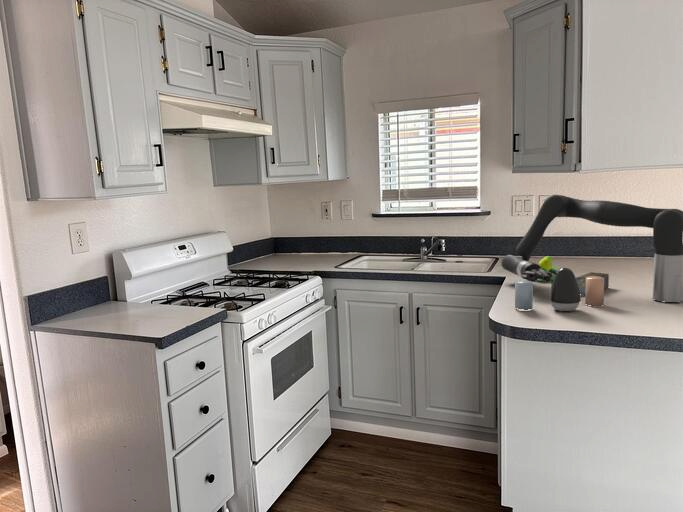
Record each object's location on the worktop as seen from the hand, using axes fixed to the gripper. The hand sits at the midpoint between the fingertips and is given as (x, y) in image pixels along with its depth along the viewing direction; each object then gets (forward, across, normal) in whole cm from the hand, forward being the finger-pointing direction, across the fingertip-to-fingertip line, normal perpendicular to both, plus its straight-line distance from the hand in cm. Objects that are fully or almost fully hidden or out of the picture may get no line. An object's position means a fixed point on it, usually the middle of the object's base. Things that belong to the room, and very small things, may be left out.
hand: (547, 278), depth 197 cm
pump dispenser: (+14, 0, +9) cm, 17 cm away
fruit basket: (-37, +14, +9) cm, 40 cm away
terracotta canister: (+10, +13, +9) cm, 18 cm away
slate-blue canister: (+10, -13, +9) cm, 19 cm away
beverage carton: (-12, +22, +9) cm, 27 cm away
